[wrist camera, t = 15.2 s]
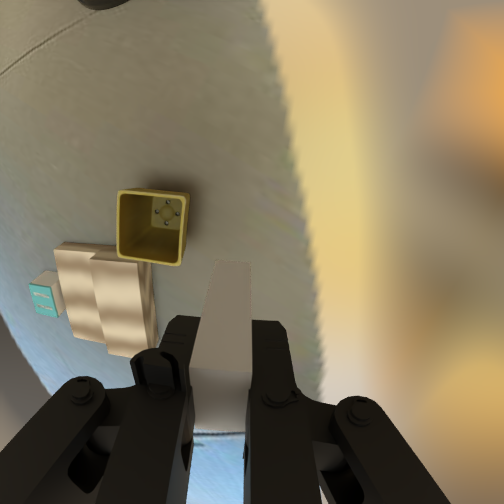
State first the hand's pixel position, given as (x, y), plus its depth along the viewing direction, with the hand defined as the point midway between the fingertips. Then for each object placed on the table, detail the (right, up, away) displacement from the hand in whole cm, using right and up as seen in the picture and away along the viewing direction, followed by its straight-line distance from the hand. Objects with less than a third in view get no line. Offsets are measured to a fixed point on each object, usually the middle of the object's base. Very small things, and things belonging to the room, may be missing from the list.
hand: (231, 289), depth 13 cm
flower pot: (-12, +8, +29) cm, 32 cm away
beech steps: (-24, -6, +33) cm, 42 cm away
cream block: (-36, -7, +28) cm, 46 cm away
